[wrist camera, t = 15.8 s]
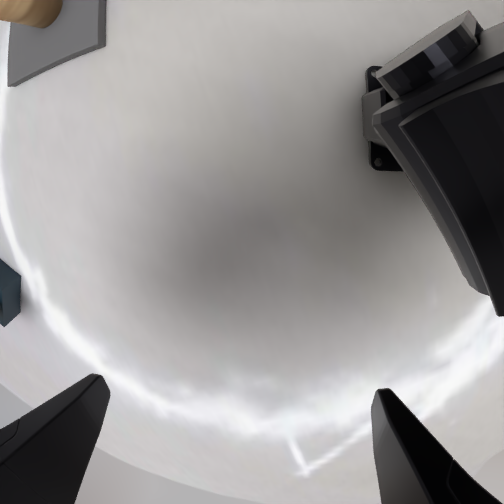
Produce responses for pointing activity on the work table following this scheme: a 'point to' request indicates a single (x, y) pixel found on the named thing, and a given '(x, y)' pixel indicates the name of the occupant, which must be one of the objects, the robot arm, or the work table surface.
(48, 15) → the dowel
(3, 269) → the watch
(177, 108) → the work table surface
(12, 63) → the mat
